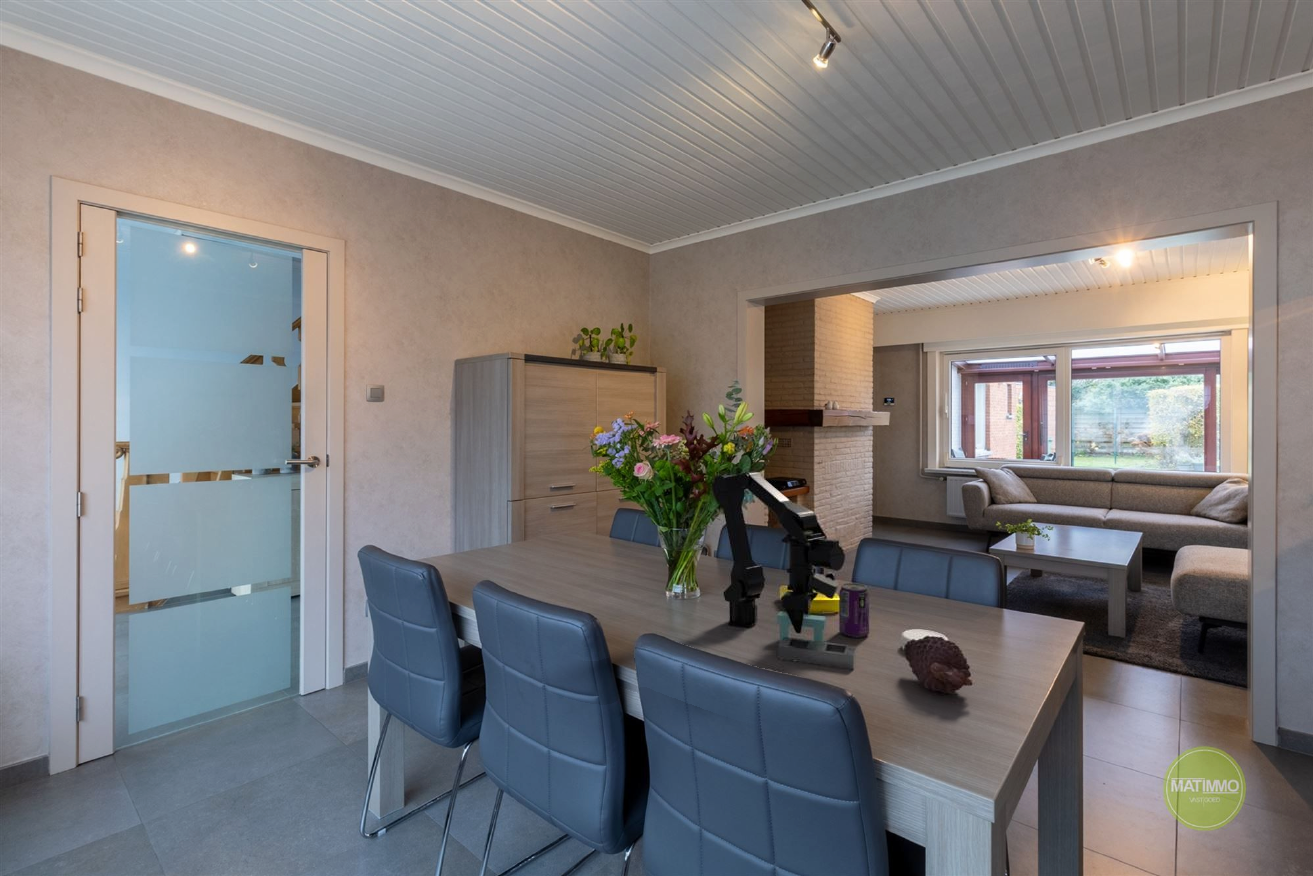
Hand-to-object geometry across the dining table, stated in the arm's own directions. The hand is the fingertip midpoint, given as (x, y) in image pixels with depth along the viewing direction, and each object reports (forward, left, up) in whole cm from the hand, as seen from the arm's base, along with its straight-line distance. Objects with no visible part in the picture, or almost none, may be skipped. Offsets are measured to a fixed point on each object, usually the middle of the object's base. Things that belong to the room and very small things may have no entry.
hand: (801, 628), depth 144 cm
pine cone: (+29, -15, -4) cm, 33 cm away
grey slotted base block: (+5, -9, -4) cm, 11 cm away
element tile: (-3, +31, -4) cm, 32 cm away
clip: (0, 0, -4) cm, 4 cm away
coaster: (+27, +6, -4) cm, 28 cm away
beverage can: (+11, +11, -4) cm, 16 cm away
